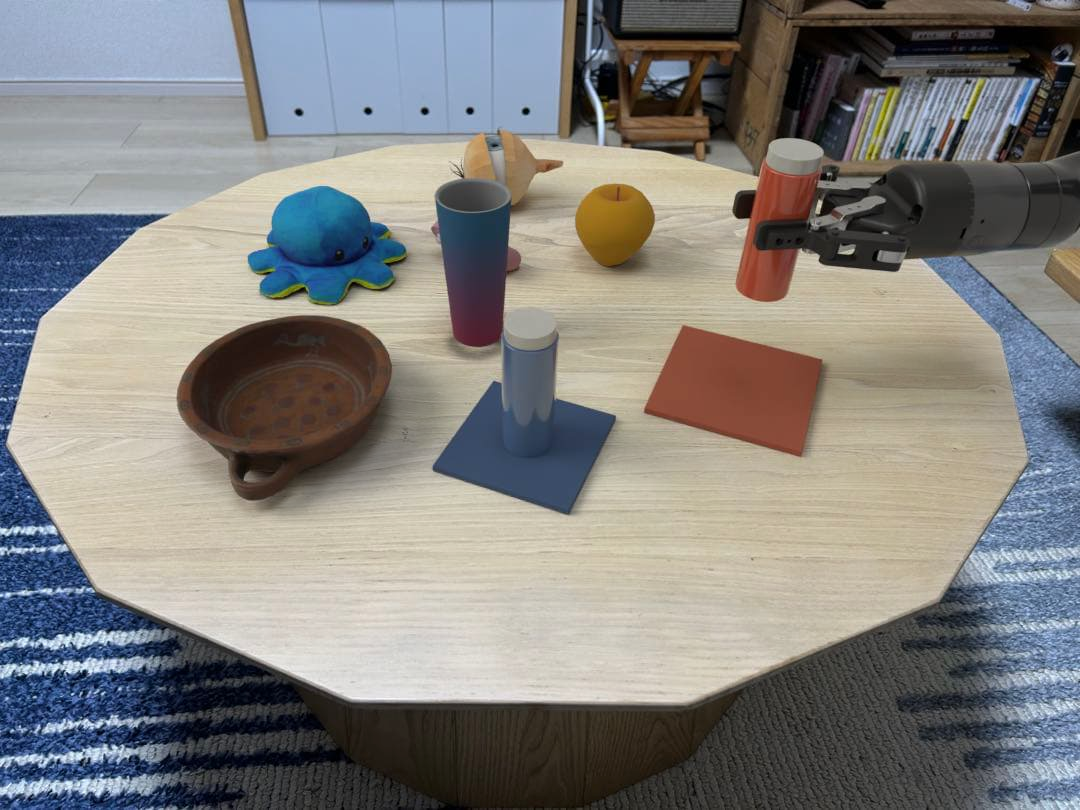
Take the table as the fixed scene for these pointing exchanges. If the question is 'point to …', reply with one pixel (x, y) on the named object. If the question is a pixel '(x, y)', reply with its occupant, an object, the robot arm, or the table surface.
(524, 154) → the sculpture
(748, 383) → the terracotta mat
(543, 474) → the blue mat
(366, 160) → the table surface
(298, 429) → the dish
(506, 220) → the cup
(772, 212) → the terracotta shaker
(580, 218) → the apple
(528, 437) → the blue shaker
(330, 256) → the plush toy
